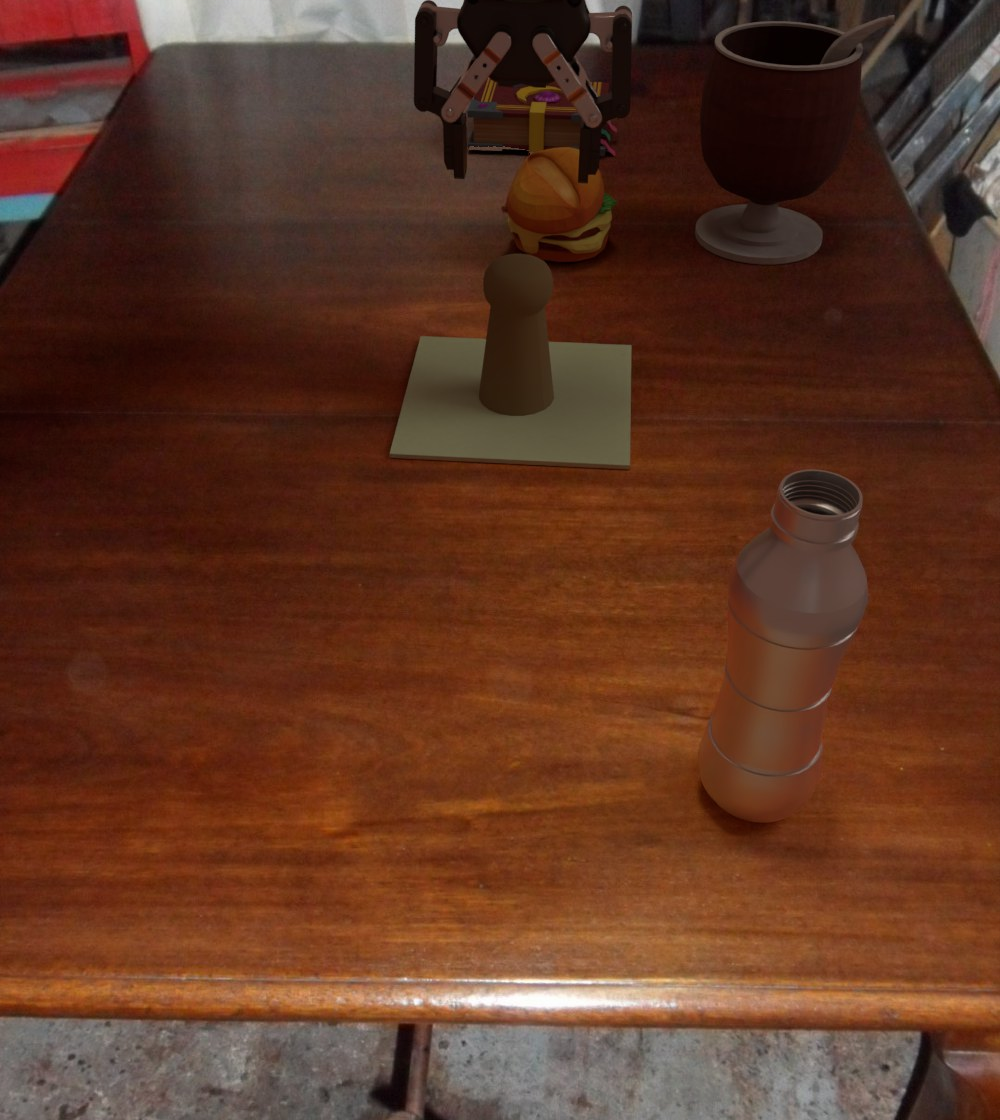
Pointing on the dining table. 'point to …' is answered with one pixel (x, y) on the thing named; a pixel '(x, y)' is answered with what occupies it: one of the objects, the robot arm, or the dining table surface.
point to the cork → (517, 336)
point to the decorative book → (528, 117)
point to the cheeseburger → (558, 208)
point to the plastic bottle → (785, 649)
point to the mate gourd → (776, 131)
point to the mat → (537, 439)
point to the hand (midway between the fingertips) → (521, 177)
